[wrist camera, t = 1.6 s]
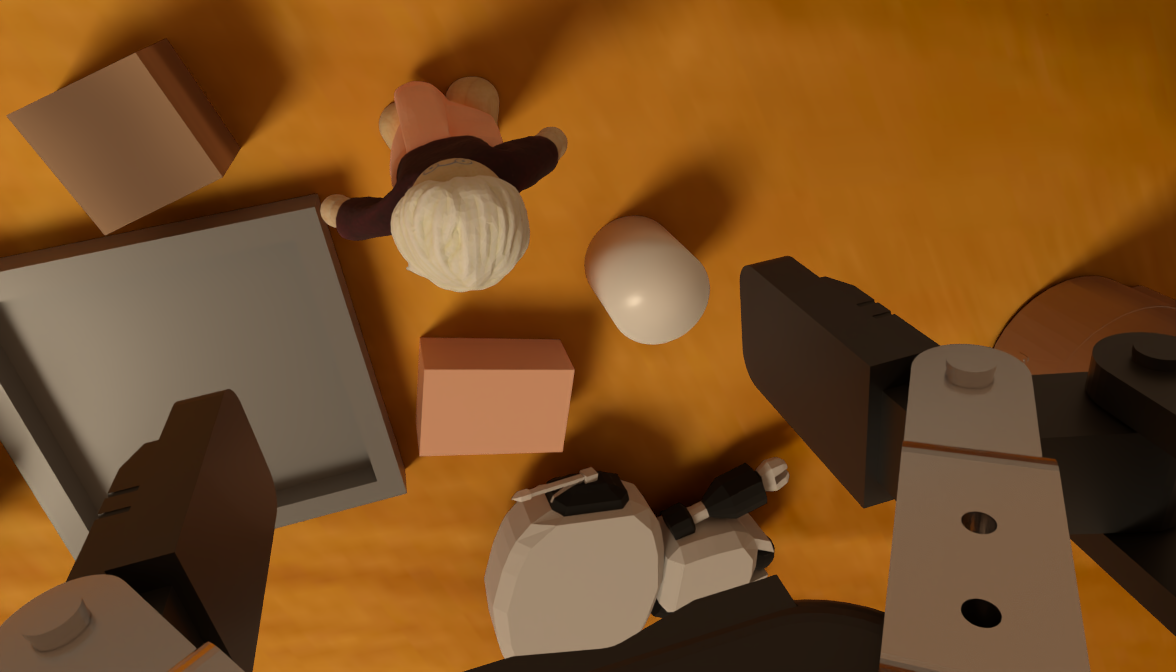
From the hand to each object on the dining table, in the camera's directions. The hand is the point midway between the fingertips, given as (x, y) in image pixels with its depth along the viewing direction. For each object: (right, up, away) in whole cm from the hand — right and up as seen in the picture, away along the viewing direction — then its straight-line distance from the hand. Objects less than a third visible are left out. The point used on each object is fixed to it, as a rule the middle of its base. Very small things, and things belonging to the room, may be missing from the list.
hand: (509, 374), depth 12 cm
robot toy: (+3, -10, +28) cm, 30 cm away
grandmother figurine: (-5, +8, +16) cm, 19 cm away
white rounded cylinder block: (+3, +4, +21) cm, 21 cm away
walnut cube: (-14, +8, +14) cm, 21 cm away
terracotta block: (-3, -1, +22) cm, 22 cm away
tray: (-14, -1, +18) cm, 23 cm away
